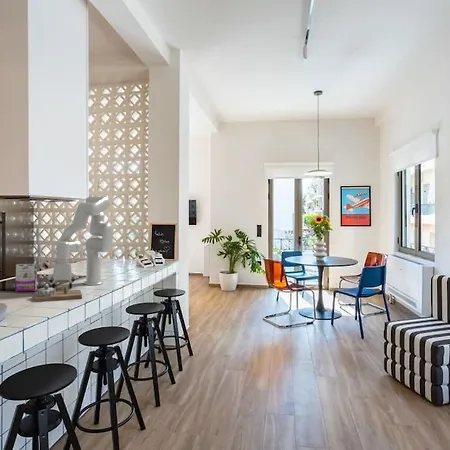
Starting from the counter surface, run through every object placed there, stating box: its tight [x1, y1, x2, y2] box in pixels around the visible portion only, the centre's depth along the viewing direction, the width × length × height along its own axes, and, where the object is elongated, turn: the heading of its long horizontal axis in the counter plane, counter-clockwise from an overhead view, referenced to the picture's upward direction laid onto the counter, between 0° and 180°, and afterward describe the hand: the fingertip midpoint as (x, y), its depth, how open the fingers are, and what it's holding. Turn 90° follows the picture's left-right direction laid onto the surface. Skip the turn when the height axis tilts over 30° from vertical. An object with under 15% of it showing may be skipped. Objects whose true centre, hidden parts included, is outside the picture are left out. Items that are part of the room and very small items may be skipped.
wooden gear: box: [55, 285, 69, 291], centre depth 221 cm, size 7×7×3 cm
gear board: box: [34, 284, 83, 303], centre depth 208 cm, size 15×24×7 cm, turn 115°
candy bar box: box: [14, 263, 38, 293], centre depth 221 cm, size 11×5×16 cm, turn 106°
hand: (62, 289), depth 221 cm, fingers open, 8 cm apart
